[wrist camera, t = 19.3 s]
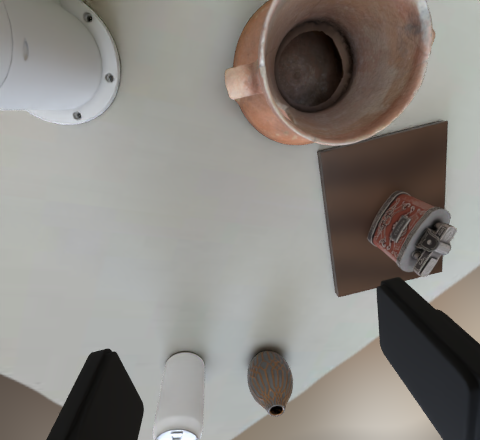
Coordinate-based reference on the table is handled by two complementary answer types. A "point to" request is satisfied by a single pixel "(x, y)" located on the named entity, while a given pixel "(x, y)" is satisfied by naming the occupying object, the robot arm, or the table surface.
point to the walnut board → (377, 198)
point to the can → (181, 399)
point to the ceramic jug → (329, 67)
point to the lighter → (412, 232)
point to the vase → (270, 381)
